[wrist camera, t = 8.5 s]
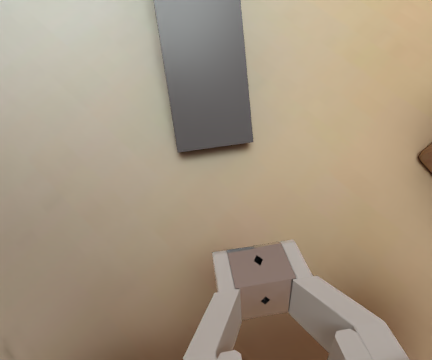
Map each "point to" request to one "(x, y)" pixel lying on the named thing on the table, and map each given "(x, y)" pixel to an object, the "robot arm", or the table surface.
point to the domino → (205, 72)
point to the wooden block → (427, 157)
